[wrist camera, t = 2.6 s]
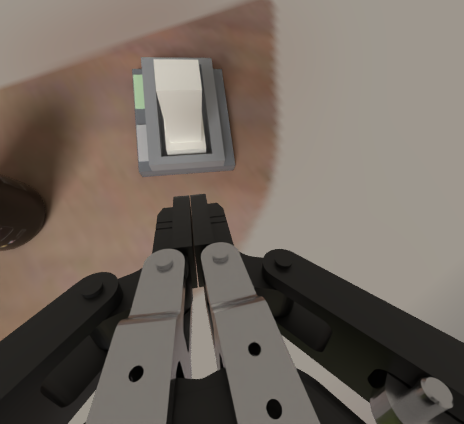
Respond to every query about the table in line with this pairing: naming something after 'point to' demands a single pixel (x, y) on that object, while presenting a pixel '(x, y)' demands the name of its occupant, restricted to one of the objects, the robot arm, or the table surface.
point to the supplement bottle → (19, 213)
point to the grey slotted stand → (153, 133)
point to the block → (180, 105)
